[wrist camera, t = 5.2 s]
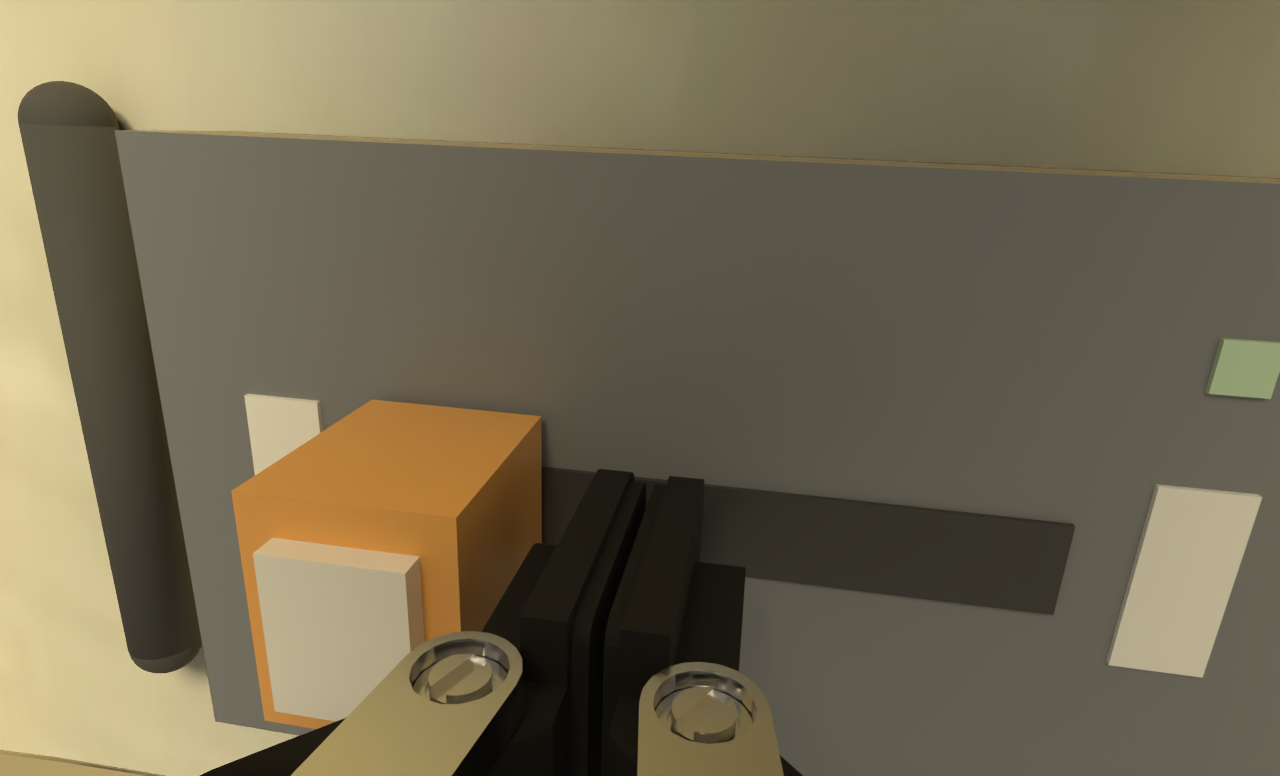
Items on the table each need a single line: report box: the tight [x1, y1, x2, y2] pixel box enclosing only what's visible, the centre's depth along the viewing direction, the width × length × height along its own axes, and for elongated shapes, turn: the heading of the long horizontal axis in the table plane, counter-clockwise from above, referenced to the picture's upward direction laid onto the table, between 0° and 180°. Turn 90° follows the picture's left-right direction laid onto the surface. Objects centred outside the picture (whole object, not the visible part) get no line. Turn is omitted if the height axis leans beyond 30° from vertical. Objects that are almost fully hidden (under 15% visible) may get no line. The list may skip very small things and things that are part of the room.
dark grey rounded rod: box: [18, 81, 202, 673], centre depth 17 cm, size 14×2×2 cm, turn 177°
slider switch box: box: [115, 130, 1280, 776], centre depth 14 cm, size 12×20×3 cm, turn 87°
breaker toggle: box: [231, 400, 542, 729], centre depth 12 cm, size 4×3×4 cm
